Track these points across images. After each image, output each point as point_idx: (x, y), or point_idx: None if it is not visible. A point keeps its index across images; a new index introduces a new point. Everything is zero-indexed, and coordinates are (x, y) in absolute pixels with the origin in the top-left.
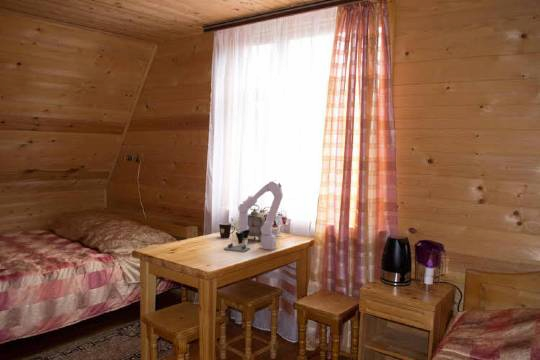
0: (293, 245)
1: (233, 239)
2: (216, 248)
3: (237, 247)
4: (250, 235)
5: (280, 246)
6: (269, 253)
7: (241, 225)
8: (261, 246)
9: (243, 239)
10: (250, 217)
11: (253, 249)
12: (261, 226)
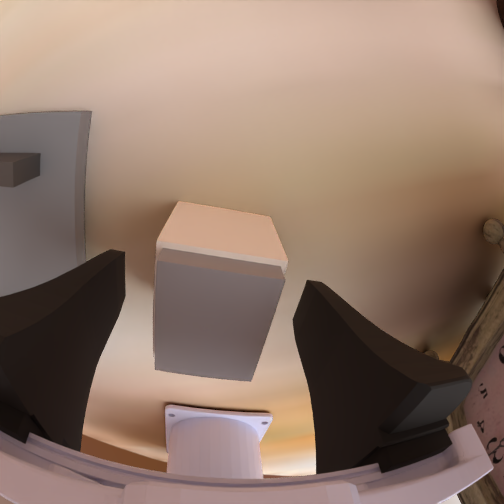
0: (313, 473)
1: (496, 97)
2: (4, 18)
3: (28, 249)
4: (482, 319)
5: (280, 459)
6: (89, 435)
7: None
8: (183, 426)
9: (154, 346)
10: None
11: (112, 375)
12: None
